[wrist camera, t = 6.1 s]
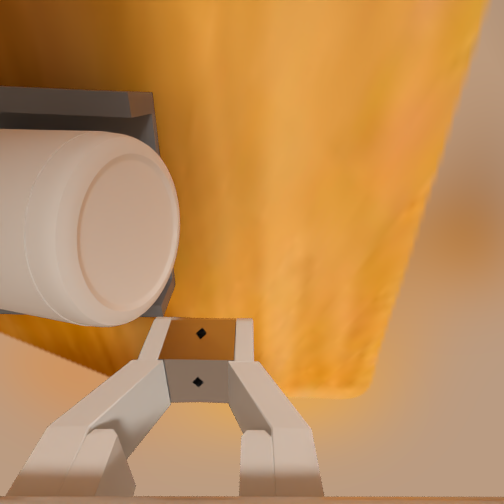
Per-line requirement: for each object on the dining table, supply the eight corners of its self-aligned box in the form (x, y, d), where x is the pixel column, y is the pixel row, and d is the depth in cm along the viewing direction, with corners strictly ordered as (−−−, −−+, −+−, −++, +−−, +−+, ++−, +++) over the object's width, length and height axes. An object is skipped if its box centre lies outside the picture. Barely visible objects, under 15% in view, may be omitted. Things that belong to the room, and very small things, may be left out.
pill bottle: (72, 77, 8) (-247, 90, 11) (42, 362, 8) (-268, 292, 11) (191, 167, 16) (-15, 159, 19) (176, 310, 16) (-28, 278, 19)
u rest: (-153, 78, 15) (-262, 74, 12) (152, 92, 15) (127, 92, 12) (-37, 279, 21) (-86, 311, 18) (175, 284, 22) (163, 317, 18)
